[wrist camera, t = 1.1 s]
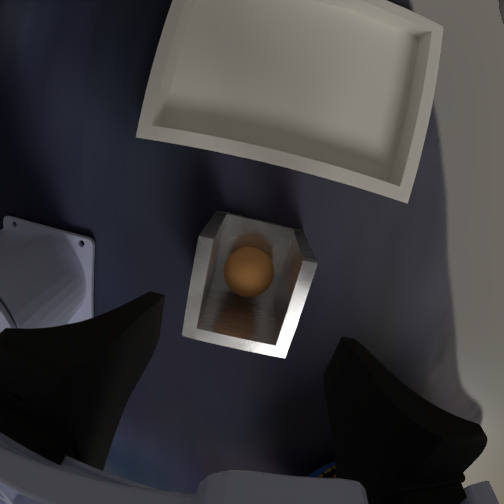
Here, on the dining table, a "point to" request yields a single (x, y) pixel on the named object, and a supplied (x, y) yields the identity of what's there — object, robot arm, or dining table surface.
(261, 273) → the ball
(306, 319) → the dining table surface
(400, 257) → the dining table surface
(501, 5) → the white cup
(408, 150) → the tray
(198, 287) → the silver open box
